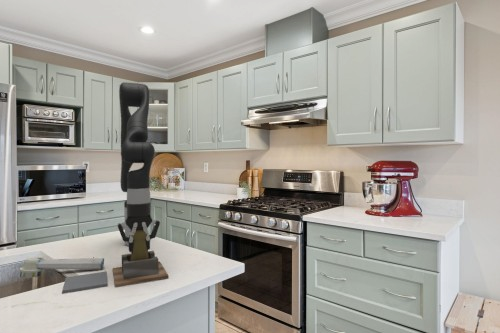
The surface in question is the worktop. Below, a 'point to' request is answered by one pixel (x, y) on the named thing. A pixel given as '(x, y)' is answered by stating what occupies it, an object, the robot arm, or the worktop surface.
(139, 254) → the olive pawn
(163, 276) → the collar block
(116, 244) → the worktop surface
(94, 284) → the mat
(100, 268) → the toothbrush head
